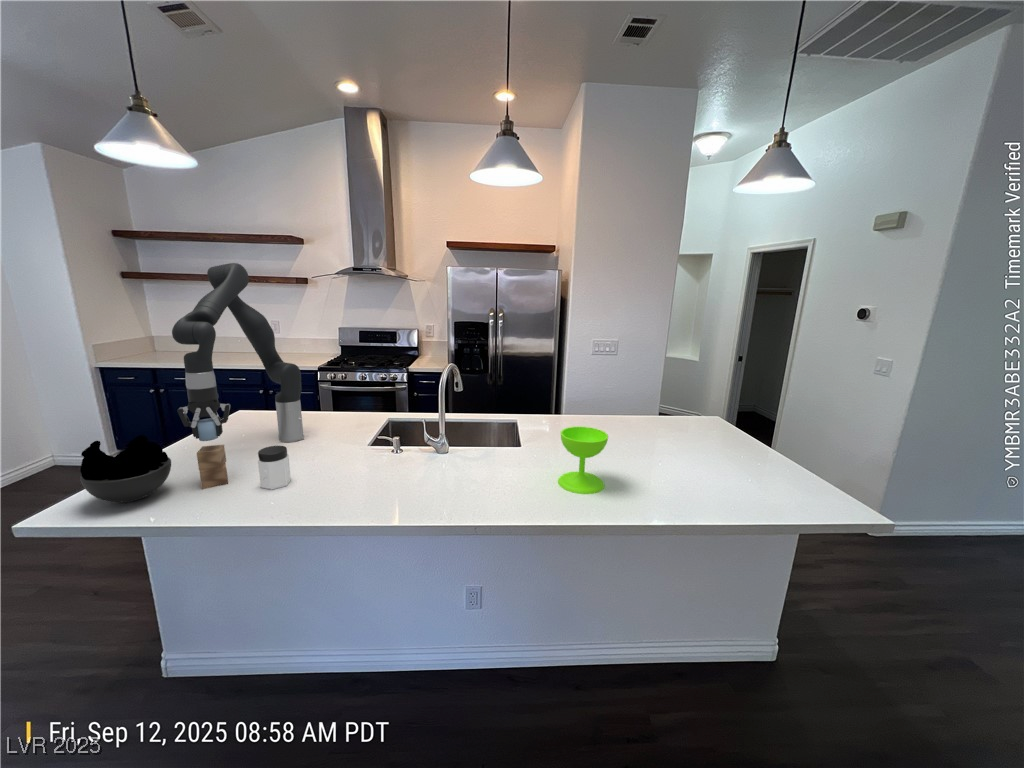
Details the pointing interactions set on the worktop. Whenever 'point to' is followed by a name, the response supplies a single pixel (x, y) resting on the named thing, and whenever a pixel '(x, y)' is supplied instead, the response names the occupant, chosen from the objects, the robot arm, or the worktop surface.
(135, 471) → the coal bowl
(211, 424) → the blue grey cylinder
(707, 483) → the worktop surface
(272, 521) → the worktop surface
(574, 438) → the wineglass
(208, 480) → the tower base
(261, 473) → the jar
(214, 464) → the tower mid
